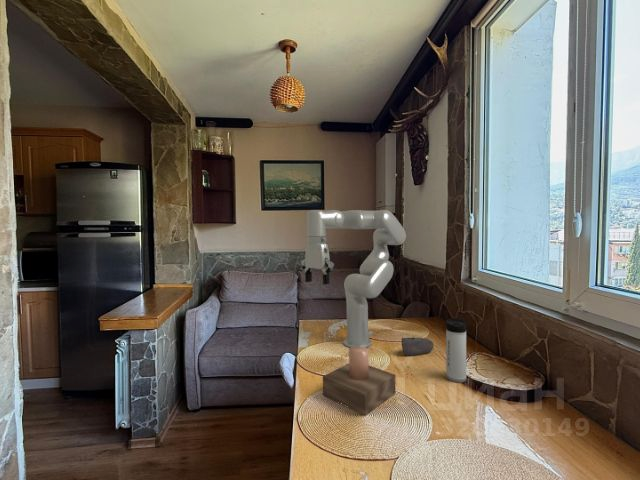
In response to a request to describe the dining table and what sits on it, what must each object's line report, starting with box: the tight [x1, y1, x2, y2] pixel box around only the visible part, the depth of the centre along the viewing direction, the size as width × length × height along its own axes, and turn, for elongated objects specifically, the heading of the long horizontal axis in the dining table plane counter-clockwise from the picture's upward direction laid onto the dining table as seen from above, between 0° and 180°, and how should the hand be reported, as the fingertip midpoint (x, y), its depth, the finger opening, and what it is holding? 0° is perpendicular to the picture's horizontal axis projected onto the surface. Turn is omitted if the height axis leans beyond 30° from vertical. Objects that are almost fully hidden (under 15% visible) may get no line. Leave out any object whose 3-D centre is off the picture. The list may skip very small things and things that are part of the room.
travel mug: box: [445, 317, 467, 384], centre depth 106 cm, size 6×7×20 cm
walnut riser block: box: [322, 362, 397, 417], centre depth 97 cm, size 16×16×6 cm
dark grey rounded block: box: [401, 337, 434, 356], centre depth 128 cm, size 15×5×7 cm, turn 100°
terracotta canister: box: [348, 346, 370, 380], centre depth 96 cm, size 6×6×8 cm
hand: (317, 282), depth 126 cm, fingers open, 9 cm apart
